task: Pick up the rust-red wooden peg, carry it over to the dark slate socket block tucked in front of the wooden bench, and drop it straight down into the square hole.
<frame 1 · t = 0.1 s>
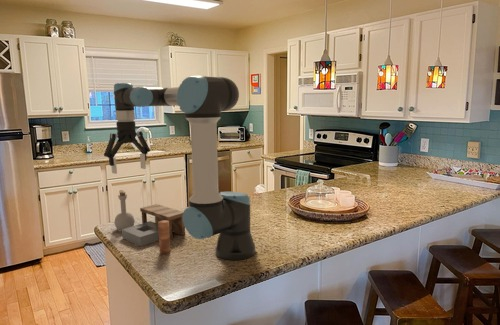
hand: (129, 170, 157), 28 cm above the worktop, tool pointing down, fingers open, 13 cm apart
socket block: (146, 237, 156), on the worktop
potion bottle: (125, 229, 167), on the worktop
wooden bench: (171, 229, 165), on the worktop
peg: (165, 252, 140), on the worktop
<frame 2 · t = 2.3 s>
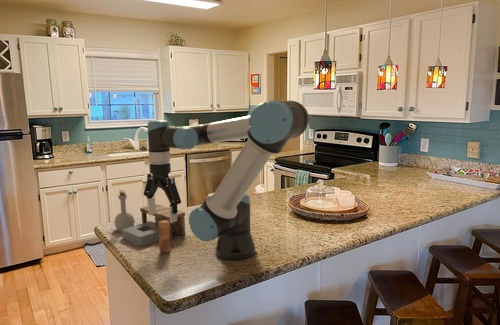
hand: (162, 218, 138), 13 cm above the worktop, tool pointing down, fingers open, 13 cm apart
nothing on the worktop moved.
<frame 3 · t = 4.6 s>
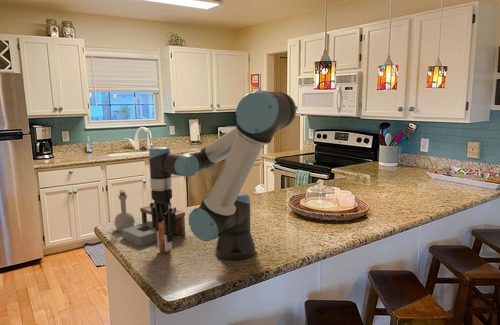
hand: (165, 247, 140), 2 cm above the worktop, tool pointing down, fingers closed on peg, 4 cm apart
peg: (165, 252, 140), on the worktop, touching gripper
everything else where it was.
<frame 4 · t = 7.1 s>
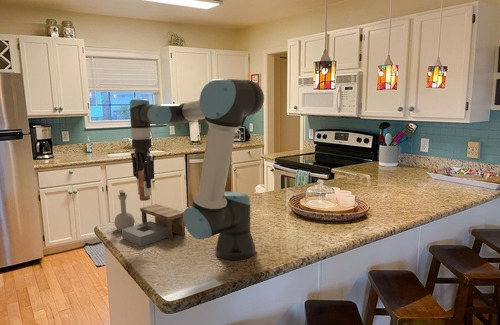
hand: (144, 194, 151), 19 cm above the worktop, tool pointing down, fingers closed on peg, 4 cm apart
peg: (144, 199, 151), point 17 cm above the worktop, touching gripper
everything else where it was.
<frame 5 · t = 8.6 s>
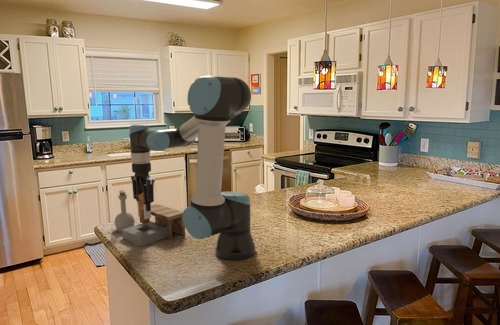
hand: (144, 216, 154), 9 cm above the worktop, tool pointing down, fingers closed on peg, 4 cm apart
peg: (144, 221, 155), point 7 cm above the worktop, touching gripper
everything else where it was.
when the fingers open (6 cm above the worktop, at t = 9.8 s): peg drops 2 cm, resting in socket block.
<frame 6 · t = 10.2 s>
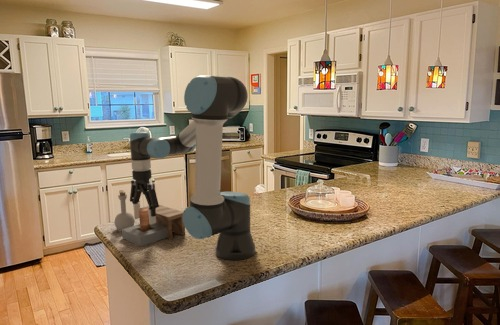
hand: (145, 220, 154), 7 cm above the worktop, tool pointing down, fingers open, 10 cm apart
peg: (145, 237, 156), resting in socket block
everything else where it was.
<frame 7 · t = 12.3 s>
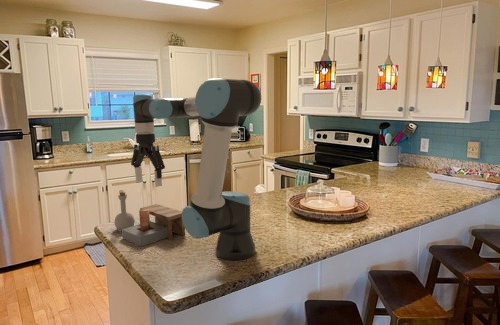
hand: (148, 184, 152), 23 cm above the worktop, tool pointing down, fingers open, 13 cm apart
nothing on the worktop moved.
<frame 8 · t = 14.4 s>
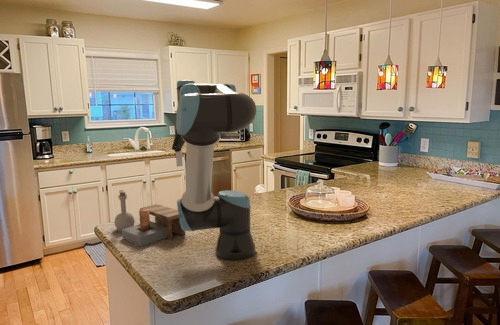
hand: (189, 167, 157), 29 cm above the worktop, tool pointing down, fingers open, 13 cm apart
nothing on the worktop moved.
at the end: peg 0.1 cm off-centre on the socket block, point 0.0 cm above the socket block's base; peg tilted 0°; the gripper is holding nothing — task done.
